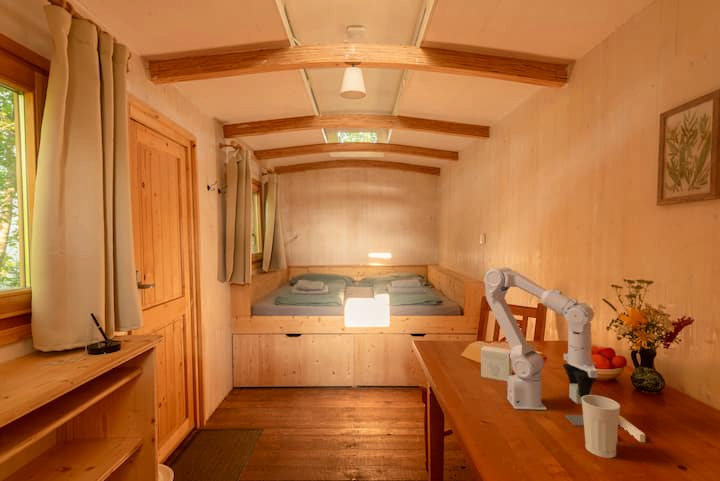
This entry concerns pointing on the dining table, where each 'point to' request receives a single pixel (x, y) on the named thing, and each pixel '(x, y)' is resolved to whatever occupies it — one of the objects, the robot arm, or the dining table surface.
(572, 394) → the block
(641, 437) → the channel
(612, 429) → the cup
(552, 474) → the dining table surface
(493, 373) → the skincare box
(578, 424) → the mat
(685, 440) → the dining table surface
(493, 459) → the dining table surface
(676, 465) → the dining table surface
